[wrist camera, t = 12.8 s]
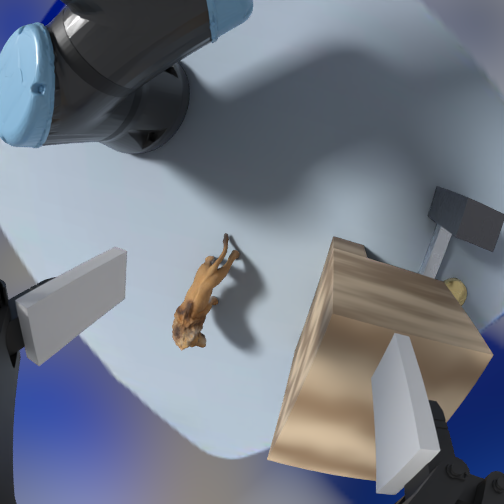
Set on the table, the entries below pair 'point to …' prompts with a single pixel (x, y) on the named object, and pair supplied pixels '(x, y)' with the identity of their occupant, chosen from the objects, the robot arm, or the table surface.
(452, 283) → the brass disc
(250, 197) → the table surface
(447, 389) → the cabinet
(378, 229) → the table surface
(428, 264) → the grey mallet
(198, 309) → the lion figurine
